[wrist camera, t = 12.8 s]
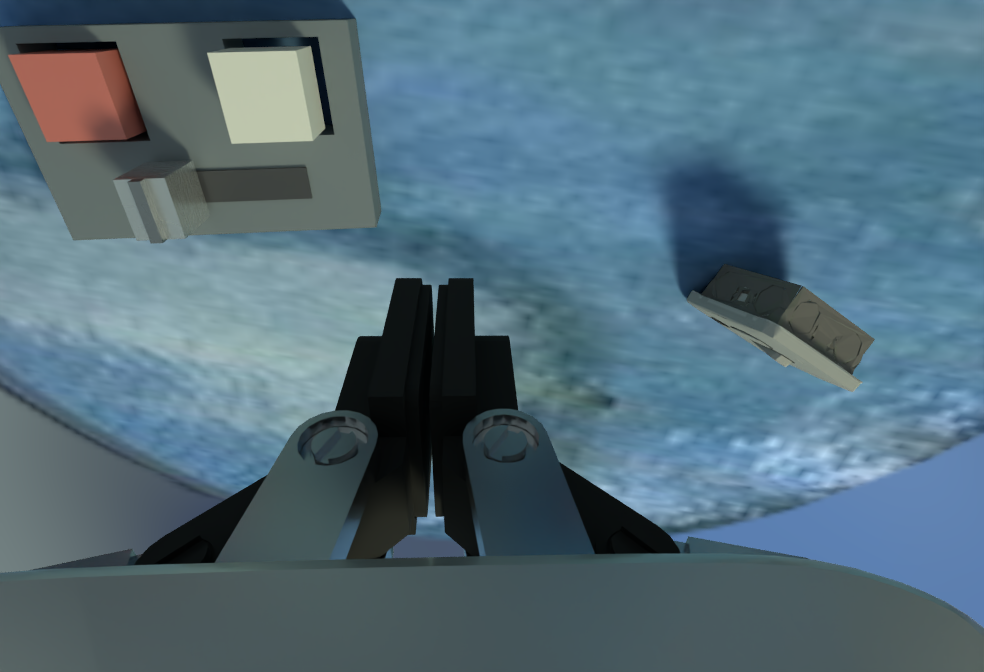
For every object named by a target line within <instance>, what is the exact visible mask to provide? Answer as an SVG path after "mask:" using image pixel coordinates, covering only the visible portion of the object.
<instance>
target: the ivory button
mask: <svg viewBox="0 0 984 672" xmlns="http://www.w3.org/2000/svg"><path fill="white" fill-rule="evenodd" d="M207 54H208V58H209V62H210V66H211V69H212V73H213V77H214V80H215V84H216V88H217V91H218V95H219V99H220V103H221V106H222V110H223V114H224V117H225V121H226V125H227V129H228V132H229V136H230V140H231V143H232V144H239V143H268V142H298V141H314V140H315V139H316V137H317V136H318V135H319V134H320V133H321V132H322V131H323V130H324V129H325V124H324V118H323V112H322V107H321V101H320V95H319V90H318V84H317V78H316V73H315V67H314V61H313V56H312V50H311V46H290V47H248V48H228V49H223V50H219V51H214V52H209V53H207Z"/></svg>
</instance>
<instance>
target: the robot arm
mask: <svg viewBox="0 0 984 672" xmlns="http://www.w3.org/2000/svg"><path fill="white" fill-rule="evenodd" d="M431 460H432V463H433V480H434V498H435V514H436V517H442V516H444V523H445V533H446V534H447V535H449V536H450V537H451V538H452V539H453V540H454V541H455V542H457V543H458V544H459V545H460V546H461V547H462V548H464V557H429V558H393V553H394V552H393V546H395V545H396V544H397V543H398V542H399V541H401V540H402V539H403V538H404V537H406V536H407V535H415V534H416V523H417V517H427V513H428V501H429V487H430V473H431ZM0 672H984V628H983V627H982V626H981V625H979V624H978V623H977V622H975V621H974V620H973V619H972V618H970V617H969V616H968V615H966V614H965V613H963V612H961V611H960V610H958V609H956V608H955V607H953V606H952V605H950V604H948V603H947V602H945V601H943V600H941V599H938V598H936V597H934V596H932V595H930V594H928V593H926V592H923V591H921V590H919V589H916V588H914V587H911V586H909V585H906V584H904V583H901V582H898V581H895V580H892V579H888V578H885V577H881V576H878V575H875V574H872V573H868V572H866V571H862V570H859V569H856V568H851V567H846V566H841V565H836V564H832V563H827V562H822V561H817V560H811V559H808V558H803V557H798V556H792V555H787V554H782V553H776V552H771V551H765V550H760V549H754V548H748V547H743V546H738V545H732V544H727V543H721V542H716V541H710V540H705V539H699V538H694V537H688V539H687V541H686V543H683V542H678V541H673V540H672V538H671V537H670V536H669V535H668V534H667V533H666V532H665V531H663V530H662V529H661V528H660V527H658V526H657V525H656V524H654V523H653V522H651V521H650V520H648V519H646V518H645V517H643V516H642V515H640V514H639V513H637V512H636V511H634V510H633V509H631V508H629V507H628V506H626V505H625V504H623V503H622V502H620V501H619V500H617V499H616V498H614V497H612V496H611V495H609V494H608V493H606V492H605V491H603V490H602V489H600V488H599V487H597V486H595V485H594V484H592V483H591V482H589V481H588V480H586V479H585V478H583V477H582V476H580V475H578V474H577V473H575V472H574V471H572V470H571V469H569V468H568V467H566V466H565V465H563V464H561V463H560V462H559V461H558V459H557V456H556V453H555V451H554V448H553V446H552V443H551V441H550V438H549V436H548V433H547V431H546V430H545V428H544V426H543V425H542V423H540V422H539V421H538V420H537V419H535V418H534V417H533V416H531V415H529V414H527V413H524V412H522V411H518V405H517V397H516V388H515V380H514V372H513V364H512V356H511V348H510V340H509V336H475V326H474V285H473V278H449V282H448V285H439V290H438V301H437V312H436V323H435V334H434V323H433V302H432V286H431V285H423V284H422V278H396V280H395V284H394V289H393V293H392V297H391V301H390V305H389V310H388V314H387V318H386V322H385V326H384V330H383V335H382V336H360V337H358V339H357V341H356V344H355V348H354V351H353V354H352V357H351V361H350V364H349V367H348V370H347V374H346V377H345V380H344V383H343V387H342V390H341V393H340V396H339V400H338V403H337V406H336V409H335V411H331V412H326V413H322V414H319V415H317V416H315V417H312V418H310V419H308V420H307V421H306V422H304V423H303V424H301V425H300V426H299V427H298V428H297V429H296V430H295V431H294V433H293V434H292V435H291V436H290V438H289V440H288V441H287V443H286V445H285V446H284V448H283V450H282V451H281V453H280V455H279V456H278V458H277V460H276V461H275V463H274V465H273V466H272V468H271V470H270V471H269V473H268V475H266V476H265V477H263V478H261V479H260V480H258V481H256V482H255V483H253V484H251V485H250V486H248V487H246V488H244V489H243V490H241V491H239V492H238V493H236V494H234V495H233V496H231V497H229V498H228V499H226V500H224V501H223V502H221V503H219V504H217V505H216V506H214V507H213V508H211V509H209V510H207V511H206V512H204V513H202V514H201V515H199V516H197V517H196V518H194V519H192V520H190V521H189V522H187V523H185V524H184V525H182V526H180V527H179V528H177V529H176V530H174V531H172V532H171V533H169V534H167V535H165V536H164V537H162V538H161V539H159V540H158V541H157V542H155V543H154V544H153V545H151V546H150V547H149V548H148V549H147V550H146V551H145V552H144V553H143V554H141V555H136V554H135V552H134V551H133V549H128V550H123V551H119V552H114V553H110V554H104V555H100V556H95V557H90V558H86V559H81V560H76V561H71V562H66V563H62V564H57V565H52V566H48V567H42V568H38V569H33V570H28V571H16V572H5V573H0Z"/></svg>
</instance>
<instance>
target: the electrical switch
mask: <svg viewBox="0 0 984 672" xmlns="http://www.w3.org/2000/svg"><path fill="white" fill-rule="evenodd" d="M800 287H801V285H797V284H794V283H790V282H787V281H783V280H780V279H776V278H772V277H769V276H765V275H762V274H758V273H755V272H751V271H748V270H744V269H741V268H737V267H733V266H730V265H726V264H724V265H723V266H722V268H721V269H720V271H719V272H718V274H717V275H716V277H715V278H714V279H713V280H712V281H711V282H710V283H709V284H708V286H707V288H706V289H705V290H704V291H703V292H702V293H701V294H699V293H697V292H695V291H693V290H692V291H691V293H690V295H689V296H688V298H687V301H688V303H690V304H691V305H692V306H694V307H695V308H697V309H698V310H700V311H701V312H703V313H704V314H706V315H707V316H709V317H710V318H712V319H714V320H715V321H717V322H718V323H720V324H721V325H723V326H724V327H726V328H728V329H729V330H731V331H732V332H734V333H735V334H737V335H738V336H740V337H741V338H743V339H745V340H746V341H748V342H749V343H751V344H752V345H754V346H755V347H757V348H759V349H760V350H762V351H764V352H765V353H767V354H768V355H769V356H770V357H771V358H773V359H774V360H775V361H777V362H778V363H780V364H781V365H783V366H784V367H786V366H788V365H789V364H790V365H792V366H794V367H796V368H798V369H800V370H802V371H805V372H807V373H809V374H811V375H813V376H815V377H817V378H820V379H822V380H824V381H827V382H829V383H831V384H834V385H836V386H839V387H841V388H844V389H846V390H848V391H851V392H853V391H854V390H855V389H856V388H857V387H858V386H859V385H860V384H861V383H863V382H861V381H860V380H858V379H857V378H856V377H854V376H853V375H852V374H853V371H854V369H855V368H856V367H857V365H858V364H859V363H860V361H861V359H862V356H863V354H864V353H865V352H866V350H867V349H868V348H869V347H870V345H871V344H872V343H873V341H874V340H875V339H873V338H872V337H871V336H869V335H868V334H867V333H865V332H864V331H863V330H861V329H860V328H859V327H857V326H856V325H855V324H853V323H852V322H851V321H849V320H848V319H847V318H845V317H844V316H843V315H841V314H840V313H838V312H837V311H836V310H834V309H833V308H832V307H830V306H829V305H828V304H826V303H825V302H824V301H822V300H821V299H820V298H818V297H817V296H816V295H814V294H813V293H812V292H810V291H809V290H808V289H806V288H805V287H803V286H802V287H801V289H800ZM784 288H785V289H784ZM799 289H800V290H799ZM798 291H799V292H798ZM797 292H798V293H797ZM796 294H797V295H796ZM795 295H796V296H795ZM794 297H795V298H794ZM792 300H793V301H792ZM809 300H810V301H809Z"/></svg>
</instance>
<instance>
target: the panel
mask: <svg viewBox="0 0 984 672" xmlns="http://www.w3.org/2000/svg"><path fill="white" fill-rule="evenodd" d="M281 37H318V40H319V46H320V52H321V57H322V63H323V69H324V75H325V81H326V87H327V93H328V99H329V105H330V111H331V117H332V123H333V125H325V129H324V130H323V131H322V132H321V133H320V134H319V135H318V136H317V137H316V139H315V140H314V141H298V142H268V143H239V144H232V143H231V140H230V136H229V132H228V129H227V125H226V121H225V117H224V114H223V110H222V106H221V103H220V99H219V95H218V91H217V88H216V84H215V80H214V77H213V73H212V69H211V66H210V62H209V58H208V54H207V53H209V52H214V51H219V50H223V49H228V48H244V46H243V41H242V38H281ZM108 41H116V43H117V46H118V49H119V52H120V55H121V58H122V61H123V63H124V66H125V69H126V72H127V75H128V78H129V81H130V84H131V86H132V89H133V92H134V95H135V98H136V101H137V104H138V107H139V109H140V112H141V115H142V118H143V121H144V124H145V127H146V130H147V131H145V132H143V133H141V134H138V135H136V136H134V137H131V138H129V139H123V140H93V141H63V142H47V141H46V139H45V137H44V134H43V132H42V130H41V128H40V125H39V123H38V121H37V119H36V116H35V114H34V112H33V110H32V108H31V105H30V103H29V101H28V99H27V96H26V94H25V92H24V90H23V87H22V85H21V83H20V81H19V79H18V76H17V74H16V72H15V70H14V67H13V65H12V63H11V61H10V59H9V56H8V55H11V54H20V53H28V52H37V51H45V50H57V48H56V45H55V43H65V42H108ZM0 84H1V86H2V88H3V91H4V93H5V95H6V97H7V99H8V101H9V103H10V106H11V108H12V110H13V112H14V114H15V116H16V118H17V120H18V123H19V125H20V127H21V129H22V131H23V133H24V135H25V138H26V140H27V142H28V144H29V146H30V148H31V150H32V153H33V155H34V157H35V159H36V161H37V163H38V165H39V168H40V170H41V172H42V174H43V176H44V178H45V180H46V183H47V185H48V187H49V189H50V191H51V193H52V195H53V197H54V200H55V202H56V204H57V206H58V208H59V210H60V212H61V215H62V217H63V219H64V221H65V223H66V225H67V227H68V230H69V232H70V234H71V236H72V238H73V240H92V239H115V238H136V237H135V235H134V232H133V230H132V227H131V225H130V222H129V220H128V217H127V215H126V212H125V210H124V207H123V205H122V202H121V200H120V197H119V195H118V192H117V190H116V187H115V185H114V182H113V179H115V178H117V177H119V176H121V175H123V174H125V173H127V172H128V171H130V170H132V169H134V168H136V167H138V166H140V165H142V164H143V163H145V162H162V161H191V160H193V163H194V166H195V169H196V173H197V176H198V179H199V182H200V185H201V189H202V192H203V195H204V198H205V201H206V205H207V208H208V211H209V214H210V217H209V218H208V219H206V220H205V221H204V222H203V223H202V224H201V225H200V226H199V227H198V228H197V229H195V230H194V231H193V232H192V233H191V234H190V235H208V234H231V233H254V232H277V231H301V230H324V229H347V228H370V227H377V224H378V220H379V217H380V214H381V205H380V198H379V190H378V183H377V175H376V168H375V160H374V152H373V145H372V137H371V130H370V122H369V115H368V107H367V100H366V92H365V85H364V77H363V70H362V62H361V55H360V47H359V39H358V32H357V24H356V19H316V20H269V21H222V22H175V23H128V24H81V25H34V26H4V27H0Z"/></svg>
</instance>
